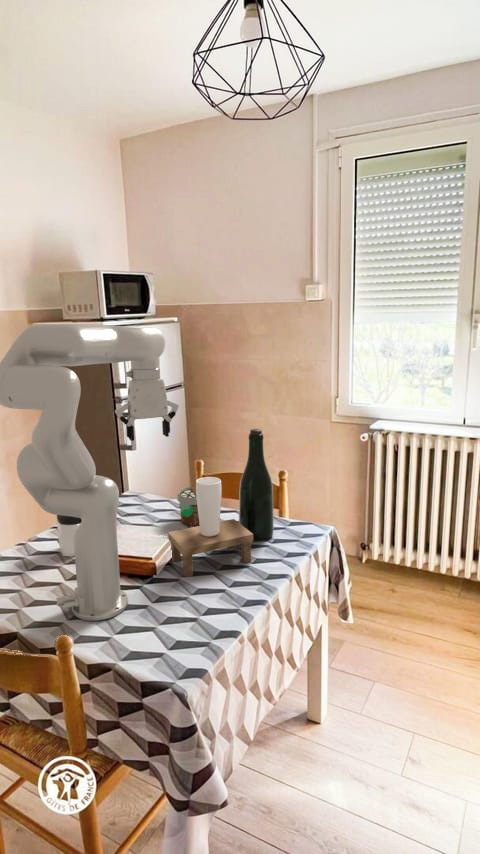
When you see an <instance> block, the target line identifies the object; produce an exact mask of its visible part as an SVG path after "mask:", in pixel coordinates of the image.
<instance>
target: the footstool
mask: <svg viewBox="0 0 480 854" xmlns="http://www.w3.org/2000/svg"><path fill="white" fill-rule="evenodd" d="M167 540H168V541H169V542H170V551H171V550H172V560H171V562H172V563H174V562H175V563H178V561H179V562H182V574H183V576H184V577H185V578H188V577H193V576H194V570H193V569H194V566H193V565H194V564H193V562H194V561H193V556H194V555H200V554H203V553H207V552H211V551H215V550H216V551H217V550H220V549H225V548H228V549H229V550H235V549H237V546H238V545H240V559H241V561H242V562H243V563H244V564H245V563H249V562H251V561H252V542H254V541H253V534H252V533H251V532H250V531H249V530H247V529H246V528H245V527H243V526H242V525H241V524H240V523H239V521H238V520H236V519H235V518H232V519H226V520H222V521H221V520H220V531H219V534H218V535H216V536H212V537H206V536H203V535H201V534H200V526H197V527H188V528H183V529H178V530H172V531H169V532H167ZM181 555H182V557H181Z"/></svg>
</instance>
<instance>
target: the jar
mask: <svg viewBox="0 0 480 854" xmlns="http://www.w3.org/2000/svg"><path fill="white" fill-rule="evenodd" d="M56 518H57V520H56V523H57V525H56V526H57V534H58V546H59V551H60V552H61V555H62V556H63V557H75V553H74V543H73V538H74V534H75V531H76V530H77V528H78V527H79V526H80V524H81V522H82V520H81V518H78V517H72V516H63V515H56Z"/></svg>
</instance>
